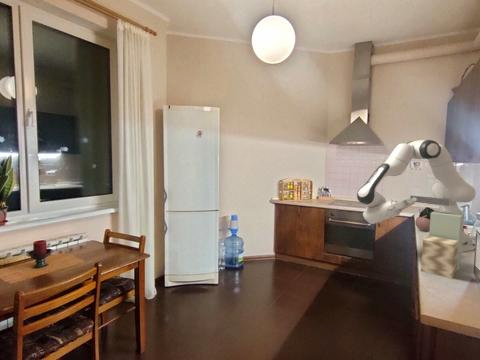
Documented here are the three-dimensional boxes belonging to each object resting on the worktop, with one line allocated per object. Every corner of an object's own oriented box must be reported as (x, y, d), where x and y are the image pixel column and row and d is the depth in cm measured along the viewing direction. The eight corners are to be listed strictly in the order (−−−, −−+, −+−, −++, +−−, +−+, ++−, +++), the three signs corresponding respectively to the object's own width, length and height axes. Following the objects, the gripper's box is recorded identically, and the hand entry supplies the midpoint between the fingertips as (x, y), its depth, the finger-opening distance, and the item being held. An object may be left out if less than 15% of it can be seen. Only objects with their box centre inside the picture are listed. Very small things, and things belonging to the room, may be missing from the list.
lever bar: (450, 204, 148) (451, 198, 148) (448, 206, 145) (449, 199, 144) (412, 200, 160) (412, 195, 160) (409, 201, 156) (409, 196, 156)
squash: (445, 218, 242) (431, 203, 247) (443, 221, 231) (428, 206, 236) (428, 227, 250) (415, 212, 255) (426, 231, 238) (412, 216, 243)
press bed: (420, 270, 141) (423, 239, 140) (426, 265, 148) (428, 235, 147) (451, 278, 133) (454, 245, 132) (455, 272, 140) (458, 240, 139)
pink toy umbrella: (437, 231, 220) (438, 216, 219) (429, 233, 213) (430, 217, 212) (419, 228, 229) (420, 213, 229) (411, 230, 223) (412, 214, 222)
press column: (427, 264, 150) (430, 212, 148) (431, 259, 157) (435, 210, 155) (456, 271, 142) (460, 216, 140) (460, 265, 149) (464, 213, 147)
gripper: (383, 204, 158) (409, 194, 149) (395, 201, 173) (419, 191, 164) (388, 216, 156) (415, 205, 147) (400, 211, 171) (425, 202, 162)
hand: (417, 198), depth 156 cm, fingers closed on lever bar, 2 cm apart
